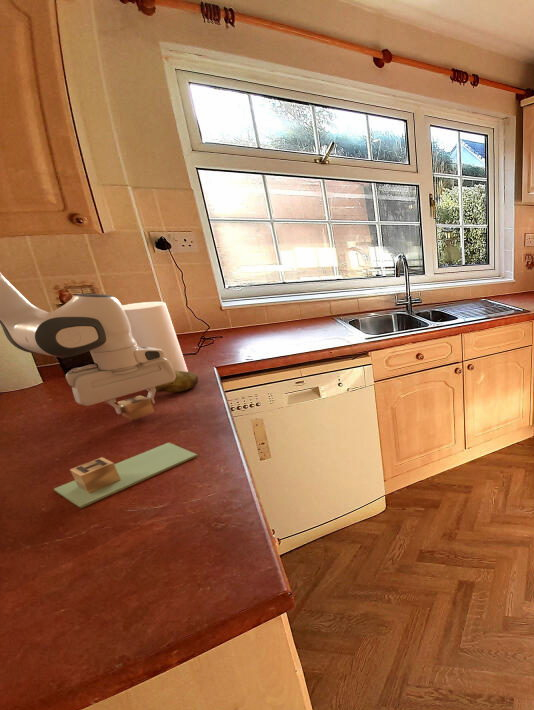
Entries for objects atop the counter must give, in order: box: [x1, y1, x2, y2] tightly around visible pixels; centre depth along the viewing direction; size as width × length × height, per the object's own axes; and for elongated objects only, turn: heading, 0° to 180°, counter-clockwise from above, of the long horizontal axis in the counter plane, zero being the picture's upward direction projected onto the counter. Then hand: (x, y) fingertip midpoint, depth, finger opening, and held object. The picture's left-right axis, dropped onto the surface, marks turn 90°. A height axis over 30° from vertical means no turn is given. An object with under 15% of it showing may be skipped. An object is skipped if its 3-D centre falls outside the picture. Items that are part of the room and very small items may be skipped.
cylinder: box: [121, 301, 189, 372], centre depth 132 cm, size 12×12×25 cm
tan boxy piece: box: [116, 395, 155, 420], centre depth 111 cm, size 5×5×4 cm
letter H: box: [69, 456, 121, 493], centre depth 83 cm, size 5×5×4 cm
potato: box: [155, 371, 200, 394], centre depth 128 cm, size 8×13×8 cm, turn 130°
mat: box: [53, 442, 198, 509], centre depth 88 cm, size 20×12×1 cm, turn 152°
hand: (136, 408), depth 111 cm, fingers closed on tan boxy piece, 5 cm apart
